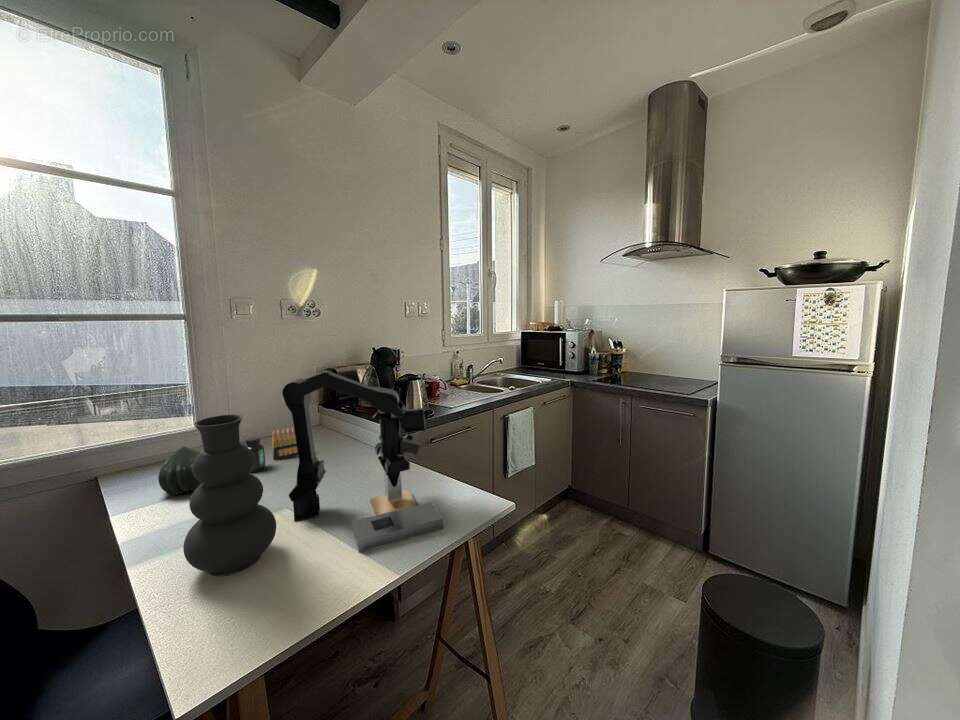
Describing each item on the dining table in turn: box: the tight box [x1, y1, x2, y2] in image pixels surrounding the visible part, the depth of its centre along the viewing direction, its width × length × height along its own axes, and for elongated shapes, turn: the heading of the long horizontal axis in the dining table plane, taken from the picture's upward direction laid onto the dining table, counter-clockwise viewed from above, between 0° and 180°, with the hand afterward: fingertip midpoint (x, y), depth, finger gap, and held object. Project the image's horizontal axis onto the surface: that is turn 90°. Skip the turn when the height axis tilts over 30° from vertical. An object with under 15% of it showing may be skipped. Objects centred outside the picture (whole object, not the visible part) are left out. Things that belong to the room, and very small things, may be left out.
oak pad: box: [369, 489, 419, 516], centre depth 116 cm, size 12×12×1 cm
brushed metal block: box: [383, 471, 403, 502], centre depth 116 cm, size 4×4×8 cm
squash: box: [157, 445, 201, 495], centre depth 130 cm, size 14×15×15 cm
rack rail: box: [352, 501, 444, 553], centre depth 104 cm, size 22×10×3 cm, turn 116°
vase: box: [182, 413, 277, 577], centre depth 90 cm, size 18×18×35 cm
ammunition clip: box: [271, 426, 298, 461], centre depth 157 cm, size 11×2×12 cm, turn 124°
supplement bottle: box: [244, 436, 267, 474], centre depth 145 cm, size 7×7×12 cm
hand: (392, 483), depth 116 cm, fingers closed on brushed metal block, 4 cm apart
